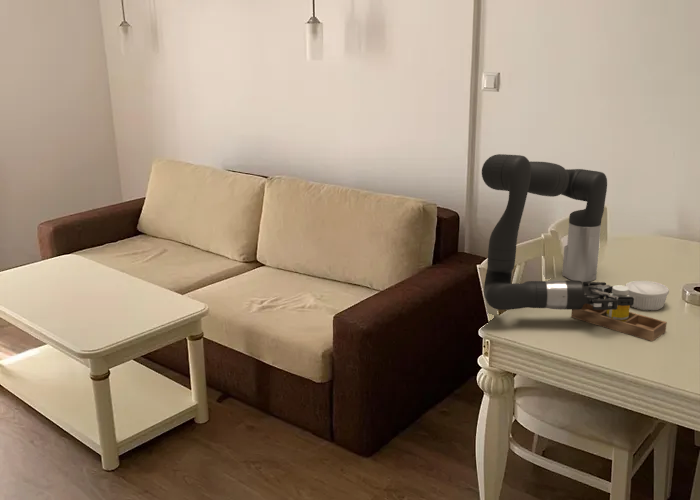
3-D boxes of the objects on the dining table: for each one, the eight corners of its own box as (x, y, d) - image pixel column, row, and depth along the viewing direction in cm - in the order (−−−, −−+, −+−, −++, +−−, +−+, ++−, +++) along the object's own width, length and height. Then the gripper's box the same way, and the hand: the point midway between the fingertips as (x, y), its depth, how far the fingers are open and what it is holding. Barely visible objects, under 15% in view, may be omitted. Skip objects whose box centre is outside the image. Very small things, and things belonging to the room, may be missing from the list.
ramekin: (615, 304, 199) (616, 286, 198) (637, 294, 206) (639, 277, 204) (652, 315, 191) (654, 297, 189) (674, 305, 197) (676, 287, 196)
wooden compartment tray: (571, 317, 191) (572, 307, 190) (585, 309, 196) (586, 299, 195) (651, 341, 176) (653, 331, 175) (665, 331, 181) (666, 322, 180)
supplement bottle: (601, 320, 187) (604, 286, 184) (616, 316, 189) (620, 282, 186) (617, 328, 182) (620, 292, 179) (632, 324, 184) (636, 289, 181)
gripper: (569, 291, 177) (639, 292, 175) (558, 271, 190) (623, 272, 189) (567, 319, 179) (635, 320, 178) (556, 298, 193) (620, 299, 191)
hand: (629, 295), depth 183 cm, fingers open, 6 cm apart
